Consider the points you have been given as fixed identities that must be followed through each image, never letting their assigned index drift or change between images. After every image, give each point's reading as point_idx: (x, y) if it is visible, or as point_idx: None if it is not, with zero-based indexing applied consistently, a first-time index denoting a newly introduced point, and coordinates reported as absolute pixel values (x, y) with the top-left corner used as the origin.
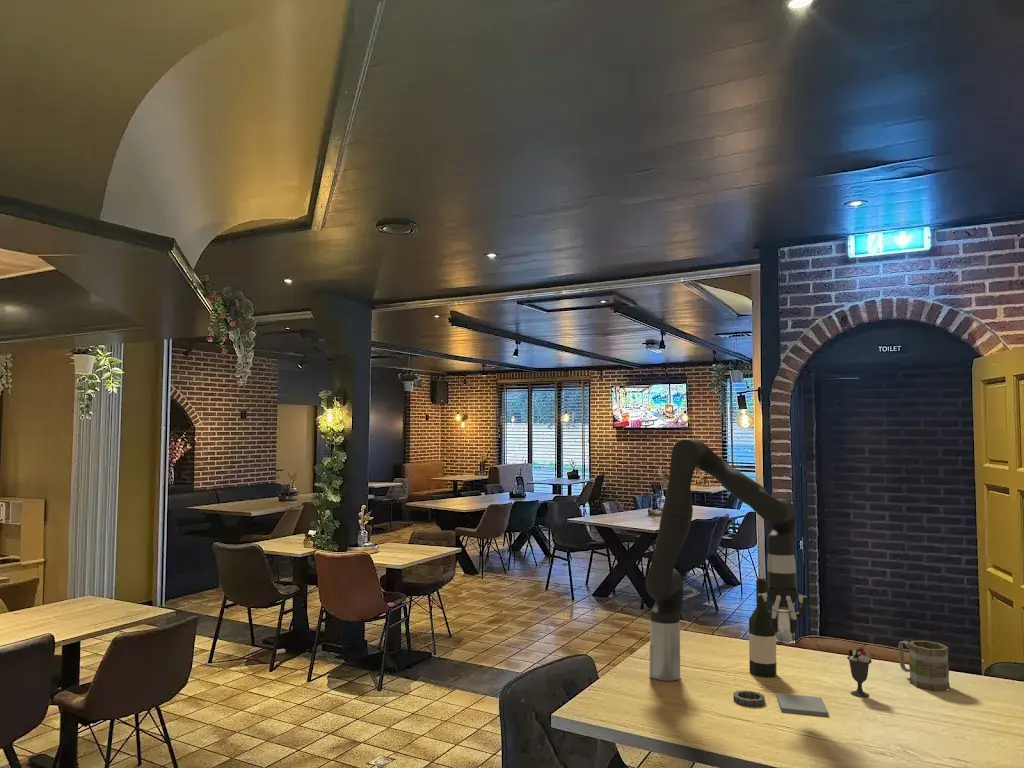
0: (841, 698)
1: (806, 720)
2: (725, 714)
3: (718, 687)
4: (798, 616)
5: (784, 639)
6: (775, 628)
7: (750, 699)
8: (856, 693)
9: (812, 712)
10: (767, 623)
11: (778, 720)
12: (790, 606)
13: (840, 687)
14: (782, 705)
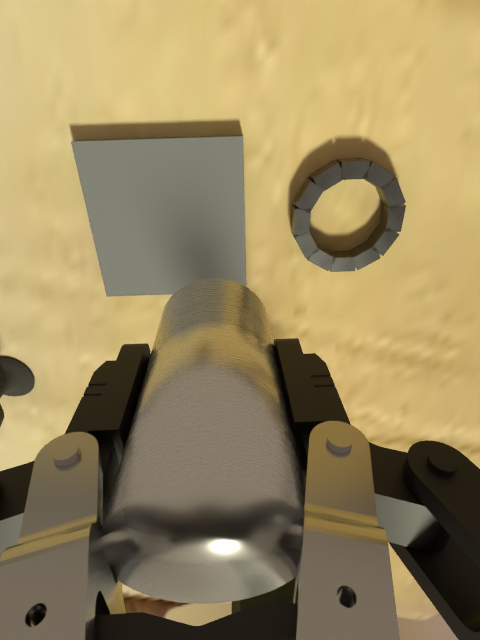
0: (54, 332)
1: (153, 60)
2: (472, 17)
3: (418, 314)
4: (10, 483)
5: (215, 284)
6: (292, 354)
7: (351, 177)
8: (14, 371)
9: (130, 139)
10: (268, 598)
11: (262, 15)
12: (43, 632)
13: (66, 412)
14: (236, 168)
